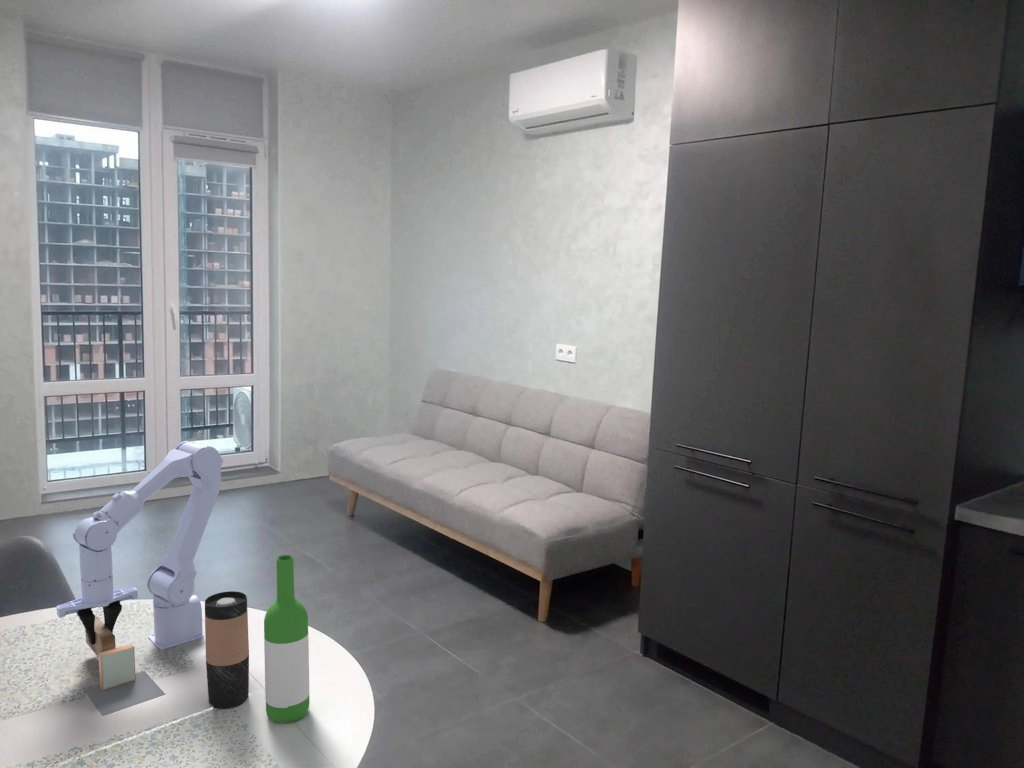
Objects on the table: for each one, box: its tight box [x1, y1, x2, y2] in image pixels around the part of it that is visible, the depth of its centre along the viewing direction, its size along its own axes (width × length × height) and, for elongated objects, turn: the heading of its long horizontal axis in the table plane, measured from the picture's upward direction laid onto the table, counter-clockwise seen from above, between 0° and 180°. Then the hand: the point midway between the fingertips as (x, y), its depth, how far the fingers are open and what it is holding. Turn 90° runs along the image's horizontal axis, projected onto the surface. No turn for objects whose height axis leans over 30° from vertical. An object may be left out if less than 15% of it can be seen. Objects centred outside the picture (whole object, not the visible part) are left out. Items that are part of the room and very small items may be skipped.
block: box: [97, 643, 136, 691], centre depth 147 cm, size 6×2×7 cm, turn 134°
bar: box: [84, 616, 117, 659], centre depth 155 cm, size 12×2×5 cm, turn 44°
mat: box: [83, 670, 166, 717], centre depth 145 cm, size 11×12×1 cm
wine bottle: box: [263, 554, 310, 724], centre depth 138 cm, size 8×8×30 cm
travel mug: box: [204, 590, 250, 710], centre depth 143 cm, size 8×8×20 cm
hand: (100, 640), depth 155 cm, fingers closed on bar, 2 cm apart
